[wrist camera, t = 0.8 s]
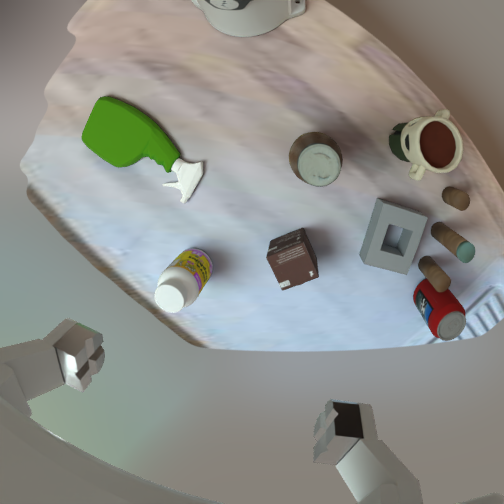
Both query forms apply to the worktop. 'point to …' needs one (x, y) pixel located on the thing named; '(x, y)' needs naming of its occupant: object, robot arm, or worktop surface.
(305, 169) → the sauce bottle
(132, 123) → the spray bottle
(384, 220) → the socket block
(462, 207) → the short pin
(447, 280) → the medium pin
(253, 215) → the worktop surface
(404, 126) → the character mug
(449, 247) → the long pin
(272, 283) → the worktop surface
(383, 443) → the robot arm
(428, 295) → the beverage can
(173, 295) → the supplement bottle
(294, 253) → the box
